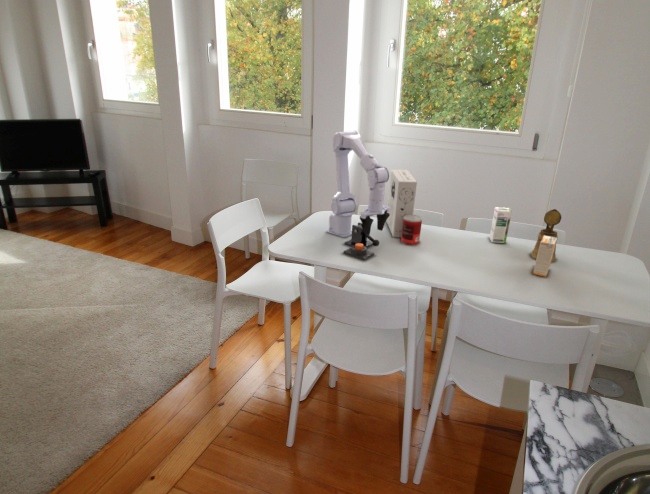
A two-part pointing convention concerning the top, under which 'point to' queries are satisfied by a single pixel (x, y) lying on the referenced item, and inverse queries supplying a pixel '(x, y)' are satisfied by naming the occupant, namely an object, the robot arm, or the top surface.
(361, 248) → the button
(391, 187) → the cereal box
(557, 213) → the brass disc-topped stand
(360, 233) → the bracket
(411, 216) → the canned food
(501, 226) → the syrup box
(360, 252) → the control block
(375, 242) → the lever
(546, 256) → the supplement box
